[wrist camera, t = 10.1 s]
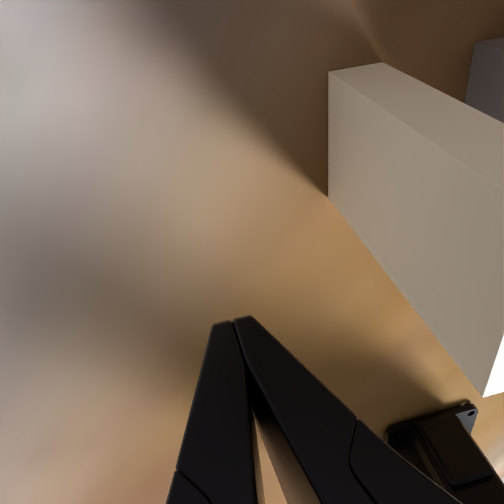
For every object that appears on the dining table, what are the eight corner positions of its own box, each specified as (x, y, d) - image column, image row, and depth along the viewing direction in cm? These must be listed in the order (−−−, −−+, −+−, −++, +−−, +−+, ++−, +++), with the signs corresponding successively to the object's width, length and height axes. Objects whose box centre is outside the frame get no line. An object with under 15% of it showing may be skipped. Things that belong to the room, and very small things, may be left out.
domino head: (382, 62, 16) (645, 194, 8) (373, 188, 19) (557, 376, 11) (328, 71, 16) (543, 218, 8) (328, 197, 19) (482, 397, 11)
